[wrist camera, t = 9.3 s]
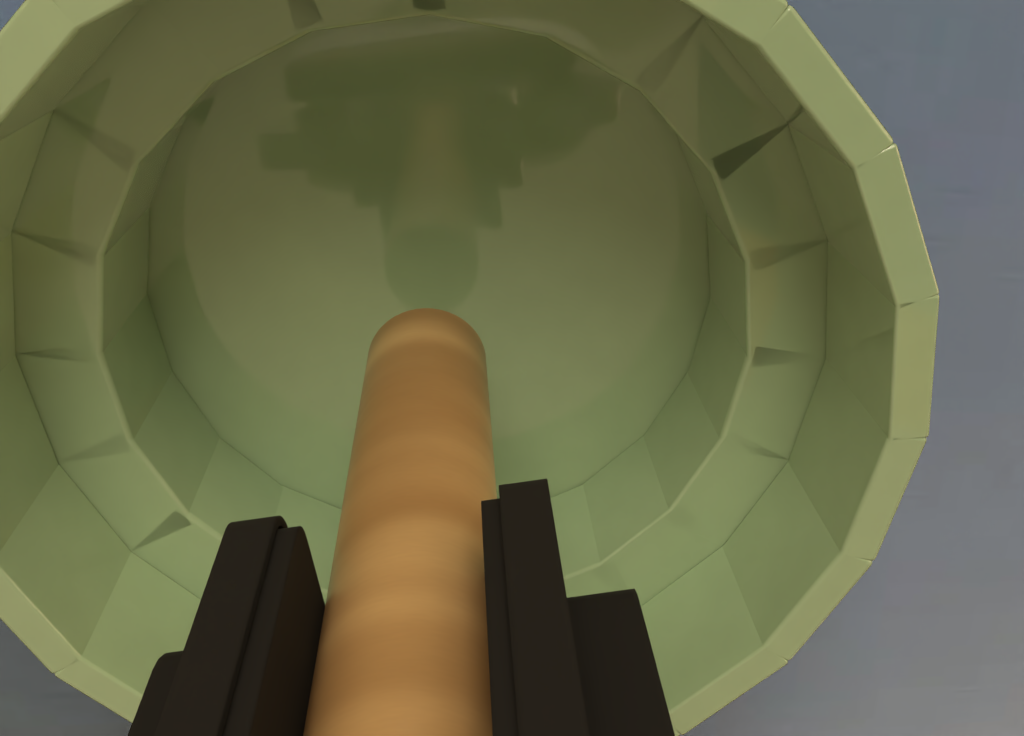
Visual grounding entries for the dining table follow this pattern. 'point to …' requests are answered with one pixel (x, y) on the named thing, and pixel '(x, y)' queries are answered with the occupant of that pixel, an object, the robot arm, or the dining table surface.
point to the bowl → (451, 302)
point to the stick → (411, 543)
